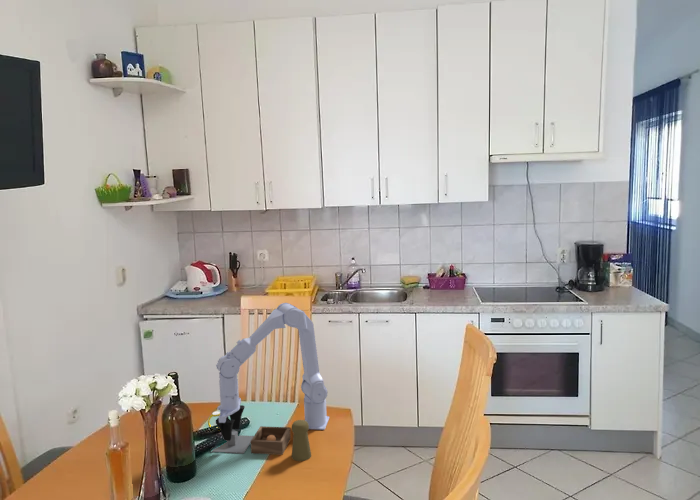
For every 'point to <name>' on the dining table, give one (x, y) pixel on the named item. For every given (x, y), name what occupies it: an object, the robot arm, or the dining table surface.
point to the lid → (235, 444)
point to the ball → (271, 438)
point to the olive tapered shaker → (300, 441)
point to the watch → (214, 416)
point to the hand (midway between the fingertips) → (231, 434)
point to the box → (270, 447)
